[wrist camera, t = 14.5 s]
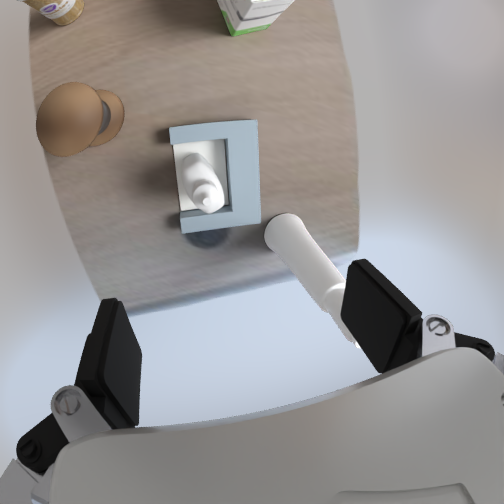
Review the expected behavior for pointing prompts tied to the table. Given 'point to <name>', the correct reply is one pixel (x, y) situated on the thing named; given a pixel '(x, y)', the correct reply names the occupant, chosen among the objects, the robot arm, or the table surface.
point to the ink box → (251, 14)
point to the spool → (78, 118)
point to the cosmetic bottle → (308, 265)
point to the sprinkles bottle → (58, 9)
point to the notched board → (221, 172)
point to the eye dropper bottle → (202, 183)
